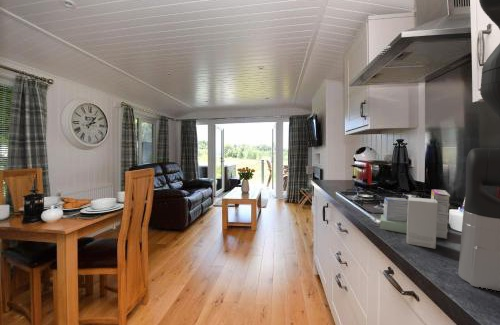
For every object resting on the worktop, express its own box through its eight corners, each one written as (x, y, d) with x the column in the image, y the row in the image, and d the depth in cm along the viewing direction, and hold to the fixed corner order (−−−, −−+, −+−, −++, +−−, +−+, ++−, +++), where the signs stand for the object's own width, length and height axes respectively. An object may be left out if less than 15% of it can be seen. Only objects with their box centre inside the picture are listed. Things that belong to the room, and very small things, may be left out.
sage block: (409, 235, 92) (410, 225, 91) (379, 230, 97) (380, 220, 96) (407, 227, 100) (408, 218, 100) (380, 223, 105) (381, 214, 105)
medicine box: (403, 218, 99) (405, 198, 98) (408, 222, 95) (409, 200, 94) (382, 216, 101) (384, 196, 100) (386, 220, 97) (387, 199, 96)
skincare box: (434, 243, 83) (437, 199, 82) (435, 250, 77) (439, 203, 76) (405, 237, 87) (408, 196, 86) (405, 243, 82) (408, 199, 81)
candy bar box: (428, 228, 98) (431, 188, 97) (443, 230, 96) (446, 190, 94) (430, 236, 89) (434, 193, 88) (448, 239, 86) (451, 195, 85)
